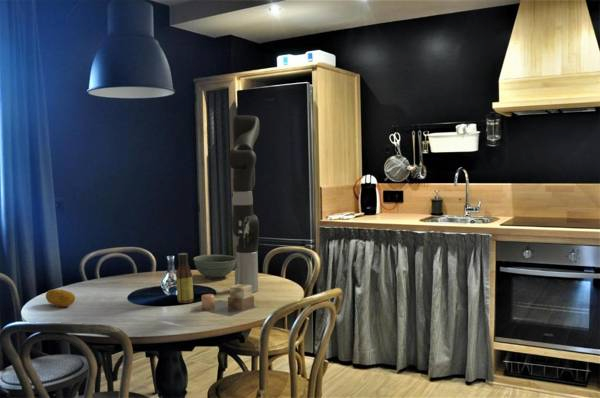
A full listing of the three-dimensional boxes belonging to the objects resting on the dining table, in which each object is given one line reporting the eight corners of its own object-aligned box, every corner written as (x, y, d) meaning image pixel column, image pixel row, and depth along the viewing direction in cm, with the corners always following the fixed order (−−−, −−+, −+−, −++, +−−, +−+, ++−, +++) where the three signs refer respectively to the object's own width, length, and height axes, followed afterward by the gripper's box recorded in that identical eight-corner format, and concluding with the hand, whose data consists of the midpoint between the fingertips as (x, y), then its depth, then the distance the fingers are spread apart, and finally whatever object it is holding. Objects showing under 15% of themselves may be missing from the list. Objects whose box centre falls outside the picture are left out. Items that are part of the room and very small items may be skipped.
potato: (61, 310, 218) (60, 293, 218) (42, 305, 226) (41, 288, 226) (79, 306, 224) (79, 289, 224) (60, 301, 233) (59, 285, 232)
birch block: (230, 297, 216) (229, 287, 216) (238, 294, 222) (238, 284, 221) (243, 299, 214) (243, 288, 213) (251, 295, 219) (251, 285, 219)
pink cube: (199, 309, 215) (198, 295, 215) (208, 306, 219) (207, 293, 219) (208, 310, 213) (208, 297, 212) (217, 308, 217) (217, 295, 216)
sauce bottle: (196, 301, 230) (195, 252, 229) (188, 305, 224) (187, 255, 223) (182, 300, 232) (180, 252, 231) (173, 304, 226) (172, 254, 225)
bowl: (195, 274, 286) (194, 254, 286) (237, 273, 288) (237, 253, 288) (192, 283, 266) (191, 261, 265) (237, 281, 268) (237, 260, 267)
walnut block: (228, 307, 217) (227, 297, 217) (240, 303, 223) (240, 293, 222) (242, 310, 213) (241, 299, 213) (254, 306, 219) (254, 295, 218)
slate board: (190, 310, 217) (190, 308, 217) (219, 301, 230) (219, 299, 230) (229, 318, 205) (229, 316, 205) (258, 308, 218) (258, 306, 218)
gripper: (250, 204, 208) (250, 249, 209) (255, 202, 222) (255, 243, 223) (229, 204, 208) (230, 249, 209) (235, 202, 223) (236, 243, 224)
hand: (243, 246), depth 216 cm, fingers open, 8 cm apart
